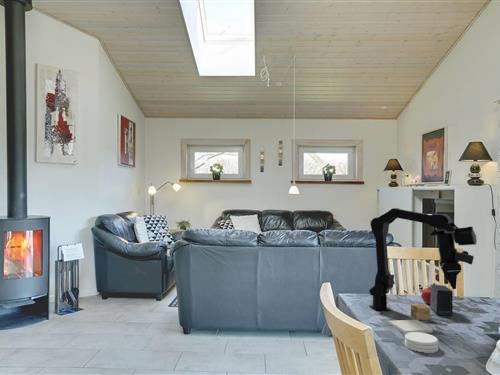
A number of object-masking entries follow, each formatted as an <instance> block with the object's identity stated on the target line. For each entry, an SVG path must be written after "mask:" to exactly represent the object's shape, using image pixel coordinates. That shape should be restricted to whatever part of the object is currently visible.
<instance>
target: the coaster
mask: <svg viewBox="0 0 500 375" xmlns="http://www.w3.org/2000/svg"><path fill="white" fill-rule="evenodd" d="M404 346H405V347H406V349H408V350H411V351H413V350H414V351H413V352H416V351H418V353H420V352H424V353H423V354H434V353H437V352H438V351H439V347H440V346H439V339H438V337H436V336H434V335H432V334H430V333H422V332H409V333H407V334H404Z"/></svg>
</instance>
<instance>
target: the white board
mask: <svg viewBox="0 0 500 375" xmlns="http://www.w3.org/2000/svg"><path fill="white" fill-rule="evenodd" d="M388 324H389V325H390V326H391V327H393V328H395V329H397V330H398V331H400V333H401V332H402V333H403V334H404V335H405V334H407V333H409V332H422V333H427V334H430V333H434V329H432V328H431V327H429V326H427V325H425V324H423V323H422V322H420V321H419V320H417V319H402V320H401V319H400V320H399V319H397V320H388Z"/></svg>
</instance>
